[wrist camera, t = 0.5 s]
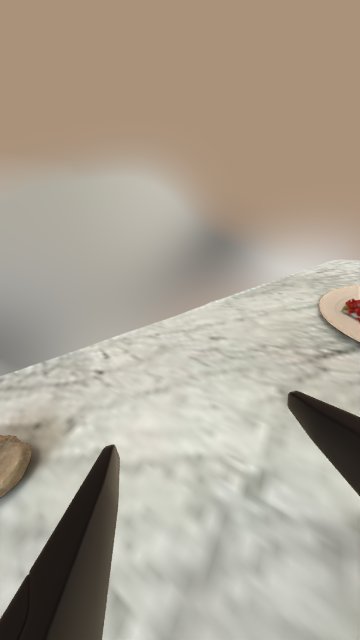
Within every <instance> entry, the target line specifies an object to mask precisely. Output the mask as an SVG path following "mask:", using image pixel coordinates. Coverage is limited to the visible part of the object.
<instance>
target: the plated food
mask: <svg viewBox="0 0 360 640" xmlns="http://www.w3.org/2000/svg"><path fill="white" fill-rule="evenodd" d="M319 308H320V311H321V313H322V315H323V317H324V318H325V319H326V320H327V321H328V322H329V323H330V324H331V325H332V326H334V327H335V328H337V329H338V330H340V331H341V332H342V333H344V334H346V335H348V336H349V337H351V338H353V339H355V340H357V341H359V342H360V285H356V286H349V287H343V288H339V289H336V290H333V291H331V292H329V293H327V294H325V295H324V296H323V297H322V298H321V301H320V303H319Z"/></svg>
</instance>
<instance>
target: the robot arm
mask: <svg viewBox="0 0 360 640" xmlns="http://www.w3.org/2000/svg"><path fill="white" fill-rule="evenodd" d="M288 408H289V409H290V411H291V412H292V414H293V415H294V416H295V418H296V419H297V420H298V422H299V423H300V425H301V426H302V427H303V429H304V430H305V431H306V433H307V434H308V435H309V437H310V438H311V439H312V441H313V442H314V443H315V444H316V445H317V447H318V448H319V449H320V450H321V451H322V452H323V454H324V455H325V456H326V457H327V458H328V460H329V461H330V462H331V463H332V464H333V465H334V467H335V468H336V469H337V470H338V471H339V472H340V474H341V475H342V476H343V477H344V478H345V480H346V481H347V482H348V483H349V484H350V485H351V487H352V488H353V489H354V490H355V491H356V492H357V494H358V495H359V496H360V417H358V416H356V415H353V414H351V413H349V412H346V411H344V410H342V409H339V408H337V407H334V406H332V405H330V404H327V403H325V402H323V401H320V400H318V399H315V398H313V397H311V396H308V395H306V394H304V393H301V392H299V391H293V392H290V393H289V394H288ZM119 470H120V457H119V454H118V452H117V449H116V447H115V445H114V444H113V445H109V446H106V447H105V448H104V449H103V450H102V452H101V454H100V455H99V457H98V459H97V460H96V462H95V464H94V465H93V467H92V469H91V470H90V472H89V474H88V475H87V477H86V479H85V480H84V482H83V484H82V485H81V487H80V488H79V490H78V492H77V493H76V495H75V497H74V498H73V500H72V502H71V503H70V505H69V507H68V508H67V510H66V512H65V513H64V515H63V517H62V518H61V520H60V522H59V523H58V525H57V527H56V528H55V530H54V532H53V533H52V535H51V537H50V538H49V540H48V541H47V543H46V545H45V546H44V548H43V550H42V551H41V553H40V555H39V556H38V558H37V560H36V561H35V563H34V565H33V566H32V568H31V570H30V572H29V575H27V576H26V578H25V579H24V581H23V583H22V584H21V586H20V588H19V589H18V591H17V593H16V594H15V596H14V598H13V599H12V601H11V602H10V604H9V606H8V607H7V609H6V610H5V612H4V614H3V615H2V617H1V619H0V640H102V635H103V627H104V619H105V610H106V602H107V594H108V586H109V578H110V569H111V561H112V553H113V545H114V537H115V528H116V520H117V512H118V498H119Z"/></svg>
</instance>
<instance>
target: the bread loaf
mask: <svg viewBox="0 0 360 640" xmlns="http://www.w3.org/2000/svg"><path fill="white" fill-rule="evenodd" d="M31 452H32V451H31V446H29V445H28V444H27V443H24V442H21V441H20V440H19V439H18V438H17V437H16V436H10V435H8V436H1V435H0V498H1V497H2V496H3V495H5V494H6V493H7V492H8V491H9V490H10V489H11V488H13V487H14V486H15V485H17V484H18V482H19V481H20V479H21V478H22V477H23V475H24V472H25V471H26V469H27V466H28V464H29V461H30V459H31Z"/></svg>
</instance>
